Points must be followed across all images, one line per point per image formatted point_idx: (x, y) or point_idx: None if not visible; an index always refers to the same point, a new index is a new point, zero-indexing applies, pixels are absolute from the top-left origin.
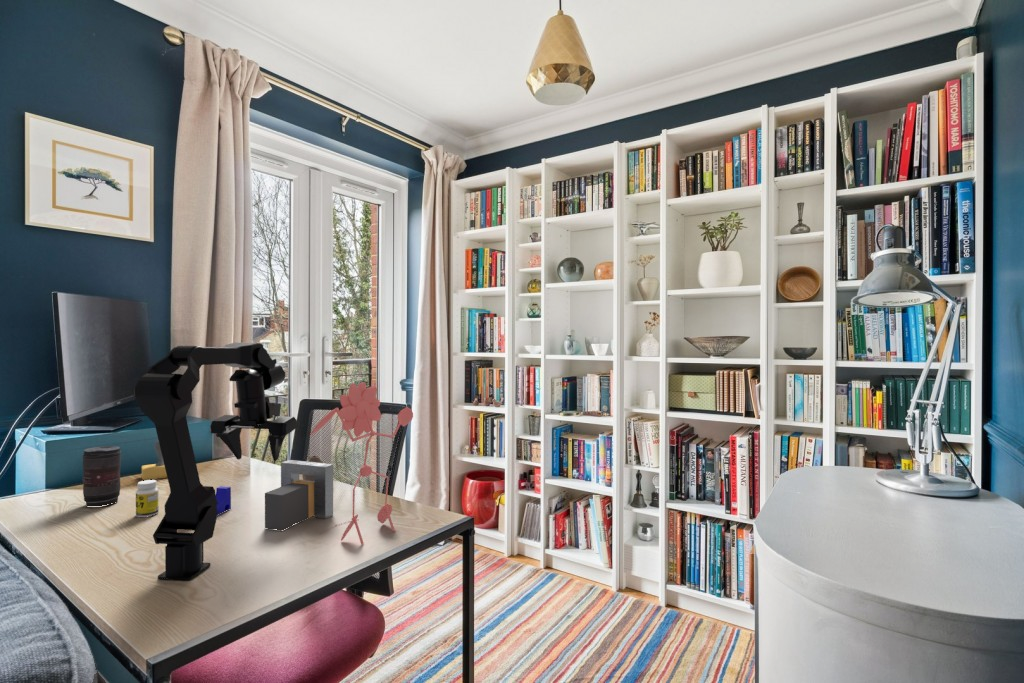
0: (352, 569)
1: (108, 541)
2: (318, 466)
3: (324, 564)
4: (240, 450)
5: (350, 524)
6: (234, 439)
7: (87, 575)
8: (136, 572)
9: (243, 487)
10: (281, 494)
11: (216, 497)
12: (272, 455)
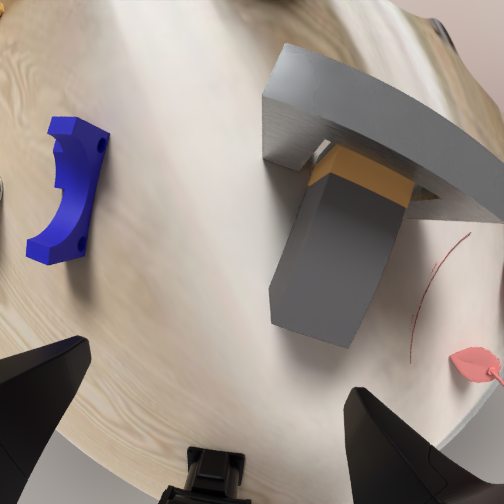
0: (453, 433)
1: (15, 326)
2: (483, 206)
3: (423, 432)
4: (58, 369)
5: (481, 381)
6: (4, 450)
7: (88, 442)
8: (141, 452)
9: (97, 6)
10: (343, 339)
11: (64, 146)
12: (349, 452)
